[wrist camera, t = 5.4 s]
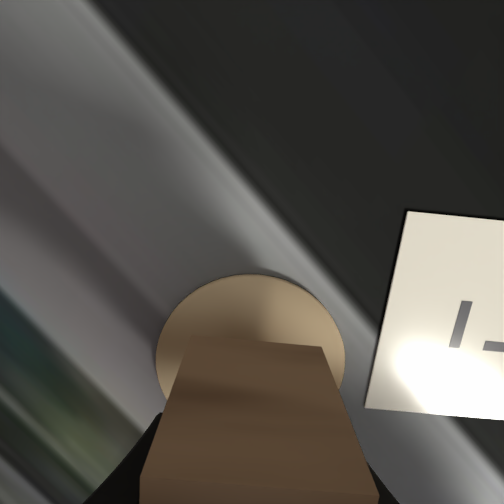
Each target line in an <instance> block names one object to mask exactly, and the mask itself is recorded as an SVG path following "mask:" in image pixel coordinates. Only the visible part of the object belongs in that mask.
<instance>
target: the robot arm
mask: <svg viewBox="0 0 504 504" xmlns="http://www.w3.org/2000/svg"><path fill="white" fill-rule="evenodd" d="M162 414H163V413H159V414H158V415H157V416H156V417H155V419H154V420H153V422H152V423H151V425H150V426H149V427H148V429H147V430H146V431H145V433H144V434H143V435H142V437H141V438H140V439H139V441H138V442H137V443H136V445H135V446H134V447H133V448H132V449H131V451H130V452H129V453H128V454H127V456H126V457H125V458H124V459H123V460H122V462H121V463H120V464H119V465H118V466H117V467H116V469H115V470H114V471H113V472H112V473H111V474H110V475H109V476H108V477H107V478H106V480H105V481H104V482H103V483H102V484H101V485H100V486H99V487H98V488H97V489H96V490H95V491H94V492H93V494H92V495H91V496H90V497H89V498H88V499H87V500H86V501H85V502H84V503H83V504H139V499H140V475H141V473H142V470H143V467H144V464H145V462H146V459H147V456H148V453H149V450H150V448H151V445H152V442H153V439H154V436H155V434H156V431H157V428H158V425H159V423H160V420H161V417H162ZM366 462H367V461H366ZM367 465H368V467H369V470H370V473H371V475H372V478H373V480H374V483H375V485H376V488H377V491H378V493H379V500H378V504H399V503H398V501H397V500H396V499H395V498H394V497H393V495H392V494H391V493H390V492H389V490H388V489H387V488H386V487H385V485H384V484H383V483H382V481H381V480H380V479H379V477H378V476H377V475H376V474H375V472H374V471H373V470H372V468H371V467H370V466H369V464H368V463H367Z"/></svg>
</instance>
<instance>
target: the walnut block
mask: <svg viewBox="0 0 504 504" xmlns="http://www.w3.org/2000/svg"><path fill="white" fill-rule="evenodd" d="M378 500H379V493H378V491H377V488H376V485H375V483H374V480H373V478H372V475H371V473H370V470H369V467H368V465H367V462H366V460H365V457H364V455H363V452H362V449H361V447H360V444H359V442H358V439H357V437H356V434H355V431H354V429H353V426H352V424H351V421H350V419H349V416H348V413H347V411H346V408H345V406H344V403H343V401H342V398H341V395H340V393H339V390H338V388H337V385H336V383H335V380H334V377H333V375H332V372H331V370H330V367H329V365H328V362H327V359H326V357H325V354H324V352H323V349H322V347H320V346H309V345H298V344H287V343H276V342H265V341H254V340H243V339H232V338H221V337H210V336H199V335H191V336H190V339H189V342H188V345H187V347H186V350H185V353H184V356H183V358H182V361H181V364H180V367H179V370H178V372H177V375H176V378H175V381H174V384H173V386H172V389H171V392H170V395H169V397H168V400H167V403H166V406H165V409H164V411H163V414H162V417H161V420H160V423H159V425H158V428H157V431H156V434H155V436H154V439H153V442H152V445H151V448H150V450H149V453H148V456H147V459H146V462H145V464H144V467H143V470H142V473H141V475H140V499H139V504H378Z"/></svg>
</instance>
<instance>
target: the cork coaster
mask: <svg viewBox="0 0 504 504" xmlns="http://www.w3.org/2000/svg"><path fill="white" fill-rule="evenodd" d="M191 335H199V336H210V337H221V338H232V339H243V340H254V341H265V342H276V343H287V344H298V345H309V346H320V347H322V349H323V352H324V354H325V357H326V359H327V362H328V365H329V367H330V370H331V372H332V375H333V377H334V380H335V383H336V385H337V388H338V390H339V389H340V386H341V383H342V380H343V376H344V369H345V351H344V346H343V341H342V338H341V335H340V332H339V330H338V328H337V326H336V324H335V322H334V320H333V318H332V317H331V315H330V314H329V312H328V311H327V310H326V308H325V307H324V306H323V305H322V304H321V303H320V302H319V301H318V300H317V299H316V298H315V297H314V296H312V295H311V294H310V293H309V292H307V291H306V290H304V289H302V288H301V287H299V286H297V285H295V284H293V283H291V282H288V281H286V280H283V279H280V278H276V277H273V276H266V275H259V274H243V275H233V276H229V277H224V278H221V279H218V280H215V281H212V282H209V283H208V284H206V285H204V286H202V287H200V288H198V289H197V290H195V291H194V292H192V293H191V294H189V295H188V296H187V297H186V298H185V299H184V300H183V301H181V302H180V303H179V305H178V306H177V307H176V308H175V309H174V311H173V312H172V313H171V315H170V317H169V318H168V320H167V321H166V323H165V325H164V327H163V330H162V332H161V334H160V337H159V341H158V345H157V350H156V371H157V376H158V380H159V383H160V386H161V389H162V391H163V393H164V395H165V397H166V399H167V400H168V397H169V395H170V392H171V389H172V386H173V384H174V381H175V378H176V375H177V372H178V370H179V367H180V364H181V361H182V358H183V356H184V353H185V350H186V347H187V345H188V342H189V339H190V336H191Z"/></svg>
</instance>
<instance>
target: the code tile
mask: <svg viewBox="0 0 504 504" xmlns="http://www.w3.org/2000/svg"><path fill="white" fill-rule="evenodd" d="M364 407H365V408H369V409H381V410H393V411H404V412H416V413H428V414H439V415H451V416H463V417H474V418H486V419H498V420H504V221H501V220H491V219H481V218H471V217H461V216H452V215H442V214H432V213H422V212H412V211H407V214H406V218H405V223H404V228H403V232H402V237H401V241H400V246H399V250H398V255H397V260H396V264H395V269H394V273H393V278H392V282H391V287H390V292H389V296H388V301H387V305H386V310H385V314H384V319H383V323H382V328H381V333H380V337H379V342H378V346H377V351H376V355H375V360H374V365H373V369H372V374H371V378H370V383H369V387H368V392H367V397H366V401H365V406H364Z"/></svg>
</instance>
